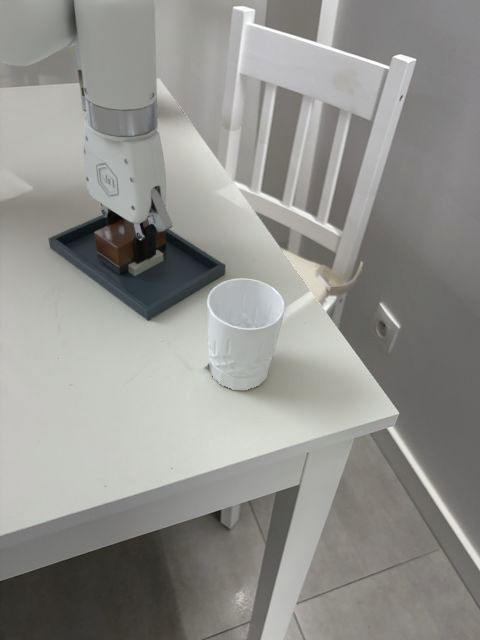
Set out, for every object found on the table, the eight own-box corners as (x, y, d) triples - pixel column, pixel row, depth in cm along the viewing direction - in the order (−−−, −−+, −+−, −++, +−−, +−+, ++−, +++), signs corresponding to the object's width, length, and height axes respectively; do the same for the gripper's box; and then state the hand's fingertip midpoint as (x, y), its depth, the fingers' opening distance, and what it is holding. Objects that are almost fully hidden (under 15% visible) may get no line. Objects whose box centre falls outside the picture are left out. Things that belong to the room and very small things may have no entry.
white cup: (266, 402, 59) (278, 336, 52) (196, 387, 60) (198, 320, 53) (278, 351, 65) (290, 286, 58) (213, 338, 65) (217, 271, 58)
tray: (50, 252, 73) (47, 238, 72) (129, 217, 81) (128, 203, 80) (148, 325, 66) (147, 311, 64) (224, 278, 73) (225, 264, 72)
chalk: (128, 272, 71) (127, 264, 70) (157, 256, 74) (157, 249, 73) (134, 276, 71) (134, 269, 70) (163, 260, 74) (163, 253, 73)
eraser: (97, 258, 72) (93, 231, 69) (144, 235, 76) (142, 209, 73) (120, 274, 70) (117, 247, 67) (166, 250, 75) (166, 224, 72)
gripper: (45, 94, 61) (68, 233, 74) (148, 152, 54) (154, 293, 67) (100, 80, 65) (113, 213, 78) (202, 132, 59) (197, 268, 72)
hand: (132, 249), depth 73 cm, fingers closed on eraser, 4 cm apart
